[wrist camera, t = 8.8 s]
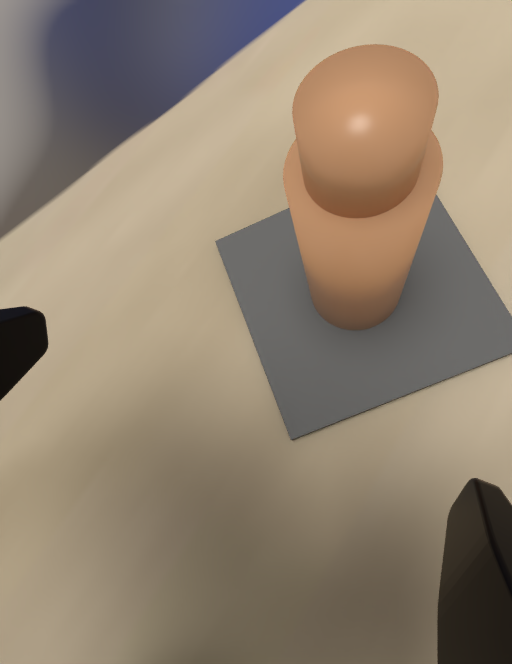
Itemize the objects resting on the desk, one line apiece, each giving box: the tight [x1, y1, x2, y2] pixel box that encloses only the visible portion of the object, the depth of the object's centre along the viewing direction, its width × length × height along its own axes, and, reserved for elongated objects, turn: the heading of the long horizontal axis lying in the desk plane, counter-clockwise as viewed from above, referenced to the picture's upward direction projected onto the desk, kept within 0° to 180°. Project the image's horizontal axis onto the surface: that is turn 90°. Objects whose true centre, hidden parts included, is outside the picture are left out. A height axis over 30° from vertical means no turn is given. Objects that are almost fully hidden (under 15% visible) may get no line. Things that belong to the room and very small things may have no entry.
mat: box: [215, 195, 512, 440], centre depth 22 cm, size 12×12×1 cm
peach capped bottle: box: [283, 44, 443, 330], centre depth 16 cm, size 5×5×12 cm
